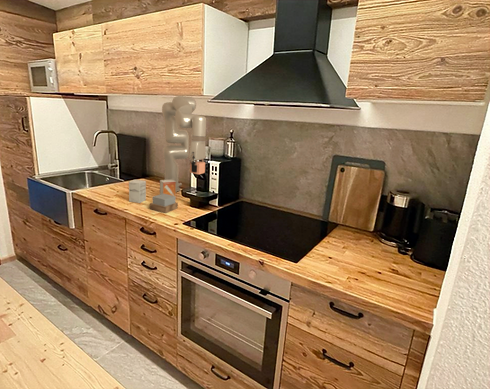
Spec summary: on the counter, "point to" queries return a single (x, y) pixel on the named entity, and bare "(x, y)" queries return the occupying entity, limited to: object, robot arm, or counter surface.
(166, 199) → the tower top
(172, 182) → the small box
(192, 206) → the counter surface
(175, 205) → the tower bottom
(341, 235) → the counter surface
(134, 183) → the supplement box
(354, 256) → the counter surface
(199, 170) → the terracotta block
